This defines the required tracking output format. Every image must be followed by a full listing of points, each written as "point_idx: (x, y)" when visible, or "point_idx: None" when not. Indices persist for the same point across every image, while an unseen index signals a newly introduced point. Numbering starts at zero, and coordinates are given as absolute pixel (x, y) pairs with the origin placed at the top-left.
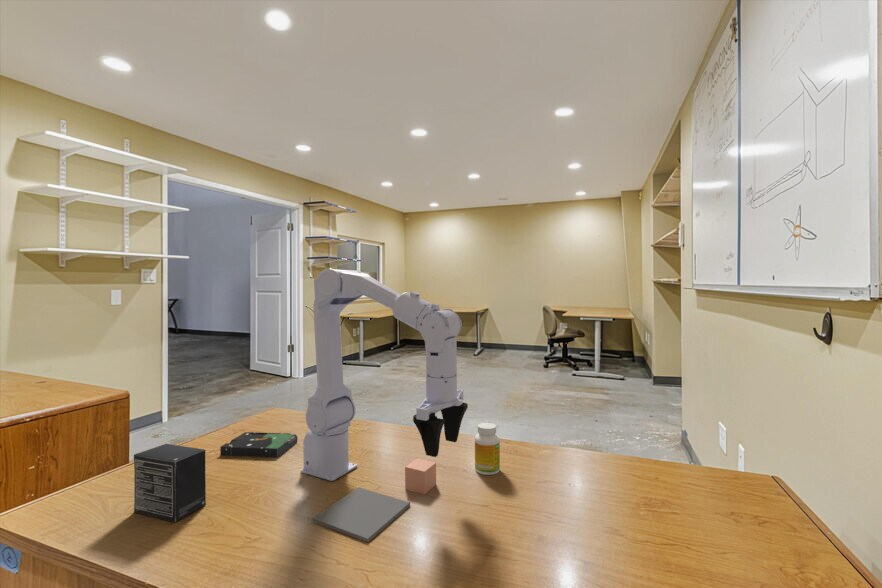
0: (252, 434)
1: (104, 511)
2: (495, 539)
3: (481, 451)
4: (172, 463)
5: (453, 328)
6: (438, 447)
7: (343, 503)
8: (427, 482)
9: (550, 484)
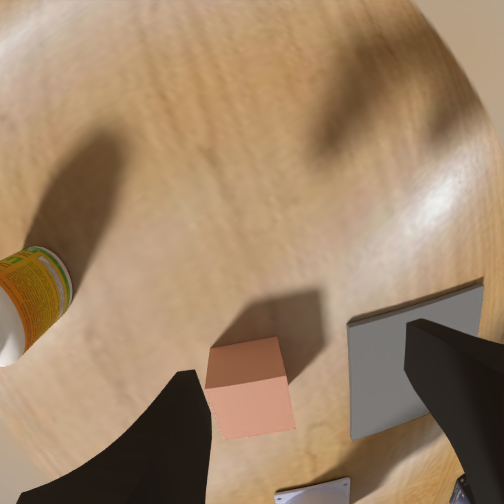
0: None
1: None
2: (334, 54)
3: (34, 308)
4: None
5: None
6: (440, 332)
7: (414, 409)
8: (262, 354)
9: (9, 98)
